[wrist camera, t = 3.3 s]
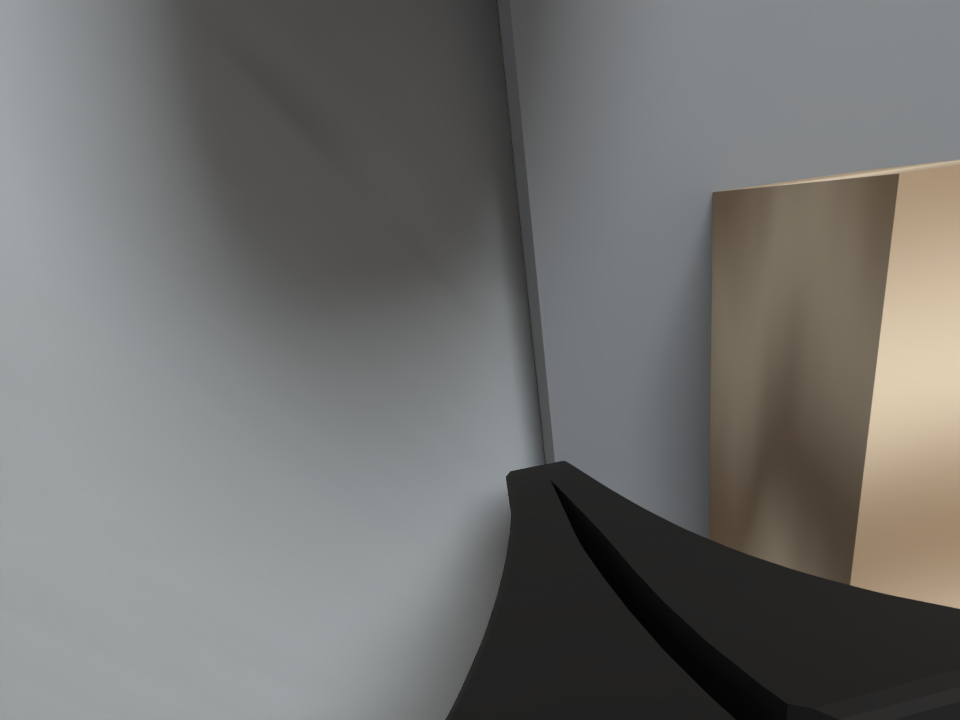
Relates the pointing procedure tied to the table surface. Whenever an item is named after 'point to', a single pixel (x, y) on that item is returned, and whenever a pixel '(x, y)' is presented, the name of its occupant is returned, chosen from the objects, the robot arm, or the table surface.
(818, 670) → the robot arm
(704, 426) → the board
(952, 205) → the t block
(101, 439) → the table surface
